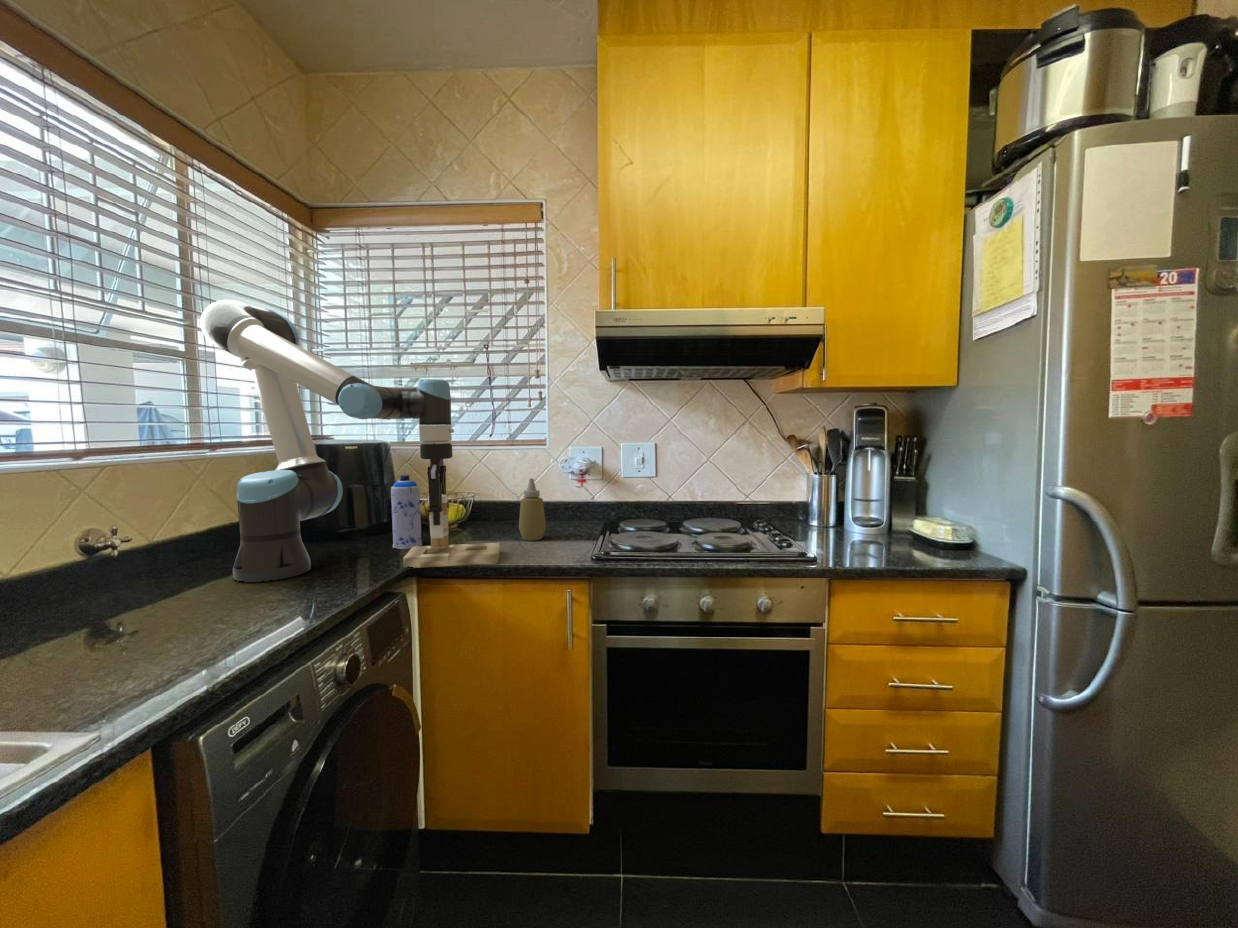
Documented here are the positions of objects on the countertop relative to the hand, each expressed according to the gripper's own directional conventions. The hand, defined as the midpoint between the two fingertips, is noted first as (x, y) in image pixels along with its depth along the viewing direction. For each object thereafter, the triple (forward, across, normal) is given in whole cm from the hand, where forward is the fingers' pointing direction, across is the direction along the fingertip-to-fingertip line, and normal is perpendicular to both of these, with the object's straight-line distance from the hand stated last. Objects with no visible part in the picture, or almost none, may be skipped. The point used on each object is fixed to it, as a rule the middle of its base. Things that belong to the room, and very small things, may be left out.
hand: (439, 535), depth 134 cm
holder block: (+6, 0, -4) cm, 7 cm away
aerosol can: (+7, +19, +12) cm, 23 cm away
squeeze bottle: (+7, +20, -23) cm, 31 cm away
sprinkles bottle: (+3, 0, 0) cm, 3 cm away
